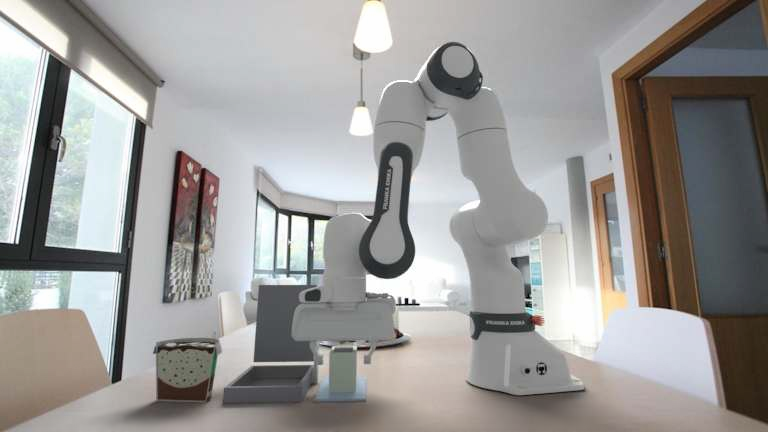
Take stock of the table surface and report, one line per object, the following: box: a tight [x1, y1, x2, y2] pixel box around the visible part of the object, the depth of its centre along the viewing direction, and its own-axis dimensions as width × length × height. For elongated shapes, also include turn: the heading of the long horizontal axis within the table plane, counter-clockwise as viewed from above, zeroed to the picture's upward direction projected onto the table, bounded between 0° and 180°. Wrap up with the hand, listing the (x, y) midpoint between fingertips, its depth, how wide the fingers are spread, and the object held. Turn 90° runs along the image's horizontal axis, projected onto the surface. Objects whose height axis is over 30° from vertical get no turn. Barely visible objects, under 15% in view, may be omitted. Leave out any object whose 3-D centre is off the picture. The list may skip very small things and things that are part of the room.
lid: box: [253, 284, 318, 363], centre depth 86 cm, size 13×17×1 cm
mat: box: [314, 375, 367, 403], centre depth 74 cm, size 9×15×1 cm, turn 3°
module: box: [328, 344, 358, 392], centre depth 75 cm, size 5×7×7 cm
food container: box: [152, 337, 223, 403], centre depth 71 cm, size 12×6×10 cm, turn 84°
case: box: [222, 341, 320, 404], centre depth 76 cm, size 15×18×13 cm
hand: (343, 364), depth 75 cm, fingers open, 8 cm apart
